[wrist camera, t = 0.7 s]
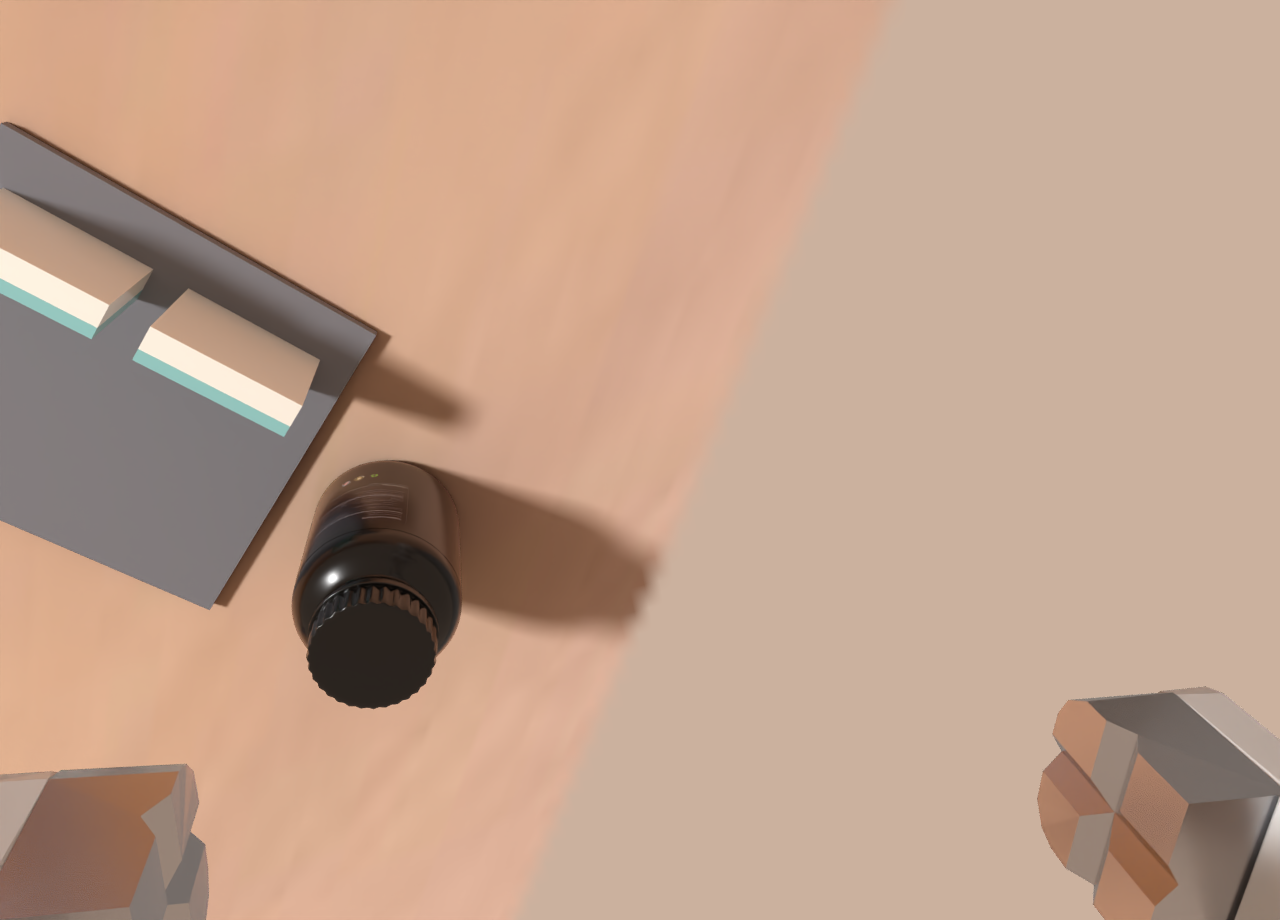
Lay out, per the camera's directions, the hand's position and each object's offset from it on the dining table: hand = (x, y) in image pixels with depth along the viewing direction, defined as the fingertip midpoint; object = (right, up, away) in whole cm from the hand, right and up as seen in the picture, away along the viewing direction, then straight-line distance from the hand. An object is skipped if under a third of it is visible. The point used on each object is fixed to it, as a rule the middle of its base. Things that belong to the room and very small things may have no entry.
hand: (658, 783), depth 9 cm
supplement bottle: (-12, 0, +39) cm, 41 cm away
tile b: (-23, +12, +31) cm, 41 cm away
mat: (-23, +6, +34) cm, 42 cm away
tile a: (-17, +8, +34) cm, 39 cm away
